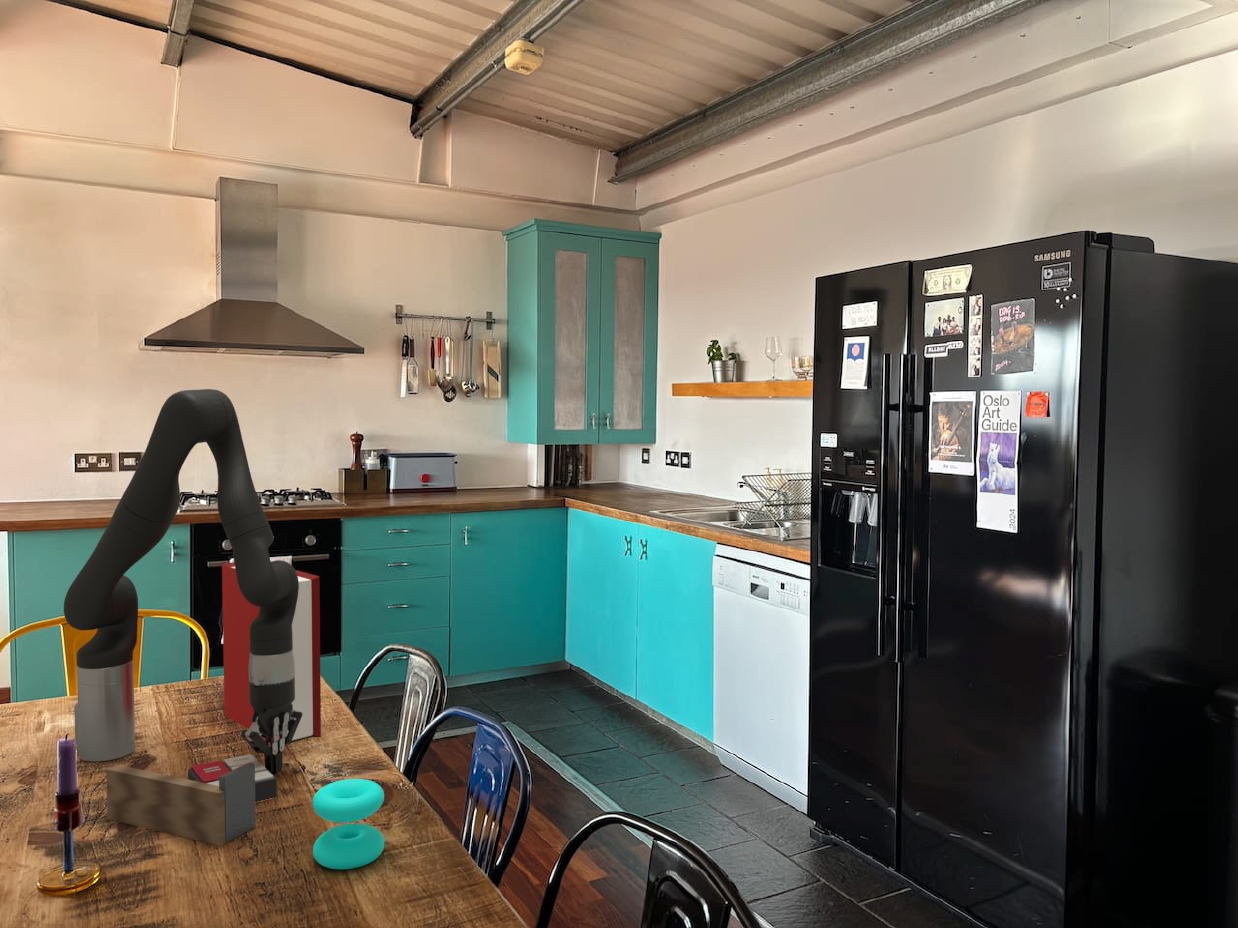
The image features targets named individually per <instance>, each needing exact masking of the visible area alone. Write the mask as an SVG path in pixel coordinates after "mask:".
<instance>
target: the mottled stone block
mask: <svg viewBox="0 0 1238 928" xmlns="http://www.w3.org/2000/svg"><path fill="white" fill-rule="evenodd" d="M105 771H106V805H107V807H106V809H107V820H110V821H114V822H119V823H123V824H126V825H132V826H135V827H139V828H143V829H148V830H152V831H156V832H160V833H164V834H168V835H169V834H170V835H173V836H177V837H181V838H186V839H190V840H193V841H194V840H195V841H197V842H201V843H206V844H210V845H215V846H218V847H221V846H223V845H225V844H227V843H226V832H225V791H223V790H219V786H216V785H211V784H207V783H202V782H197V781H192V780H188V778H187V779H186V778H182V777H177V776H173V775H168V774H162V773H158V772H154V771H149V770H145V769H140V768H139V769H138V768H135V767H134V768H133V767H129V766H125V765H120V764H115V765H113V766H111V767H109V768H106V769H105Z"/></svg>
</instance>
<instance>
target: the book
mask: <svg viewBox="0 0 1238 928" xmlns="http://www.w3.org/2000/svg"><path fill="white" fill-rule="evenodd" d="M221 571H222V572H221V575H222V576H221V577H222V578H221V584H222V585H221V586H222V587H221V588H222V635H223V636H222V638H223V641H222V643H223V644H222V648H223V649H222V650H223V699H224V701H223V706H224V707H223V709H224V713H223V714H224V716H225V717H226V718H228V719H230V720H232V721H234V722H236V723H237V724H240V725H241V726H243V727H244V728H247V729H249V728H250V726H251V725H252V716H253V712H254V709H253V707H252V706H251V705H250V702H249V659H250V625H251V623H252V621H253V620H254V619H255V618H256V617H257V616H258V614H259V611H260V607H258V606H255V605H252V604H251V603H249V602H248V601H247V600H246V599H245V597H244V596H243V594H242V593H241V591H240V588H239V585H238V582H237V576H236V570H235V564H234V561H233V562H232V561H231V562H225V563H223V564H222V565H221ZM295 571H296V573H297V577H298V582H299V591H298V598H297V604H296V609H295V614H294V618H293V622H292V640H293V656H294V667H295V700H294V701H293V702H292V705H293V710H295V711H298V712H302V717H301V720H300V722H299V724H298V727H297V729H296V732H295V734H294V736H293V739H292V741H295V740H300V739H303V738H308V737H310V736H316V737H320V738H321V737H322V712H321V711H322V707H321V706H322V703H321V702H322V700H321V698H322V696H321V692H322V691H321V617H320V616H321V603H320V601H321V600H320V599H321V597H320V595H321V594H320V588H321V587H320V576H319V575H315V574H311V573H308V572H304V571H300V570H296V569H295ZM288 732H289V731H287V734H288Z"/></svg>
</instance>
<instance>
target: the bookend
mask: <svg viewBox="0 0 1238 928" xmlns="http://www.w3.org/2000/svg"><path fill="white" fill-rule="evenodd" d="M219 790H223V791H225V832H226V843H225V844H229V842H231V841H233V840H235V839H237V838H239V837H240V836H243V834H245V833H246V834H247V832H249V831H250V830H253V829H254V827H255V828H256V826H257V825H256V823H257V820H256V818H257V817H256V816H257V815H256V803H255V764H253V763H247V764H245V765H243V766H240V767H238V768H236V769H234V770H232V771H230V772H228V773H225V774H223V775H221V776H219ZM252 828H253V829H252Z"/></svg>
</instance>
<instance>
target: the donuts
mask: <svg viewBox="0 0 1238 928" xmlns="http://www.w3.org/2000/svg"><path fill="white" fill-rule="evenodd" d="M384 801H385V793H384V789H383V788H382V787H381V785H379V783H376V781H375V782H374V781H372V780H369V779H363V778H348V779H342V780H337V781H334V782H330V783H328V784H326V785H324V786H322V787H320V789H319V790H317V792H316V793H315V794H314V796H313V798H312V807H313V810H314V812H315V814H317V816H318V817H320V818H322V819H323V820H325V821H328V822H332V823H333V822H334V823H344V824H340V825H336V826H334V827H332V828H330V829H328V830H326V831H325V832H323V833H322V834H321V835H319V836H318V838H317V839H316V841H315V842H314V845H313V848H312V853H313V858H314V859H315V861H316V862H317V863H318V864H319V865H321V866H322V867H325V868H327V869H331V870H350V869H351V870H352V869H356V868H360V867H361V868H362V867H363V866H366V865H368V864H370V863H372V862H374V861H375V860H376V859H378V858H379V856H380V855H382V853H383V851H384V848H385V837H384V835H383V833H382V832H381V831H380V830H379V829H377V828H376V827H374V826H373V825H369V824H365V823H360V822H358V823H356V821H361V820H364V819H366V818H369V817H370V816H372V815H373V814H375V813H376V812H377V811H378V810H380V808H381V807H382V806H383V803H384ZM351 822H355V823H351Z"/></svg>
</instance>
